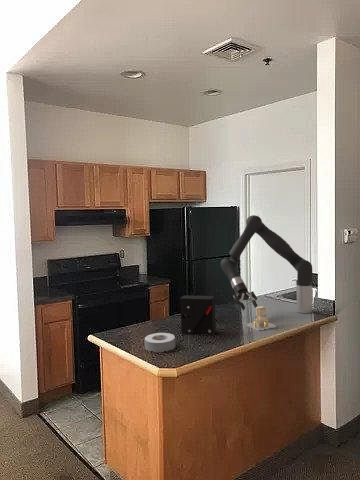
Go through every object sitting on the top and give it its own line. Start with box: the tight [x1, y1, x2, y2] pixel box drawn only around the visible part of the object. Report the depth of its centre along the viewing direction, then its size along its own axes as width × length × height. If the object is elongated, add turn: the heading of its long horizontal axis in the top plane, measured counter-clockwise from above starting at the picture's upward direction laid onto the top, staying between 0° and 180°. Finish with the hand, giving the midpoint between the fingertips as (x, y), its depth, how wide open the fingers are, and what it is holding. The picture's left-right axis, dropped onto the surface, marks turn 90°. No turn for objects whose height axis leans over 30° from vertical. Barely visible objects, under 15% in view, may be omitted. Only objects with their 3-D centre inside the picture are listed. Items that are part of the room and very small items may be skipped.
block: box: [255, 305, 267, 326], centre depth 228 cm, size 4×4×10 cm
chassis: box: [245, 318, 277, 331], centre depth 228 cm, size 12×12×4 cm
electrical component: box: [179, 294, 217, 336], centre depth 222 cm, size 18×10×20 cm, turn 71°
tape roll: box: [144, 332, 176, 353], centre depth 201 cm, size 15×15×5 cm
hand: (250, 308), depth 236 cm, fingers open, 8 cm apart
